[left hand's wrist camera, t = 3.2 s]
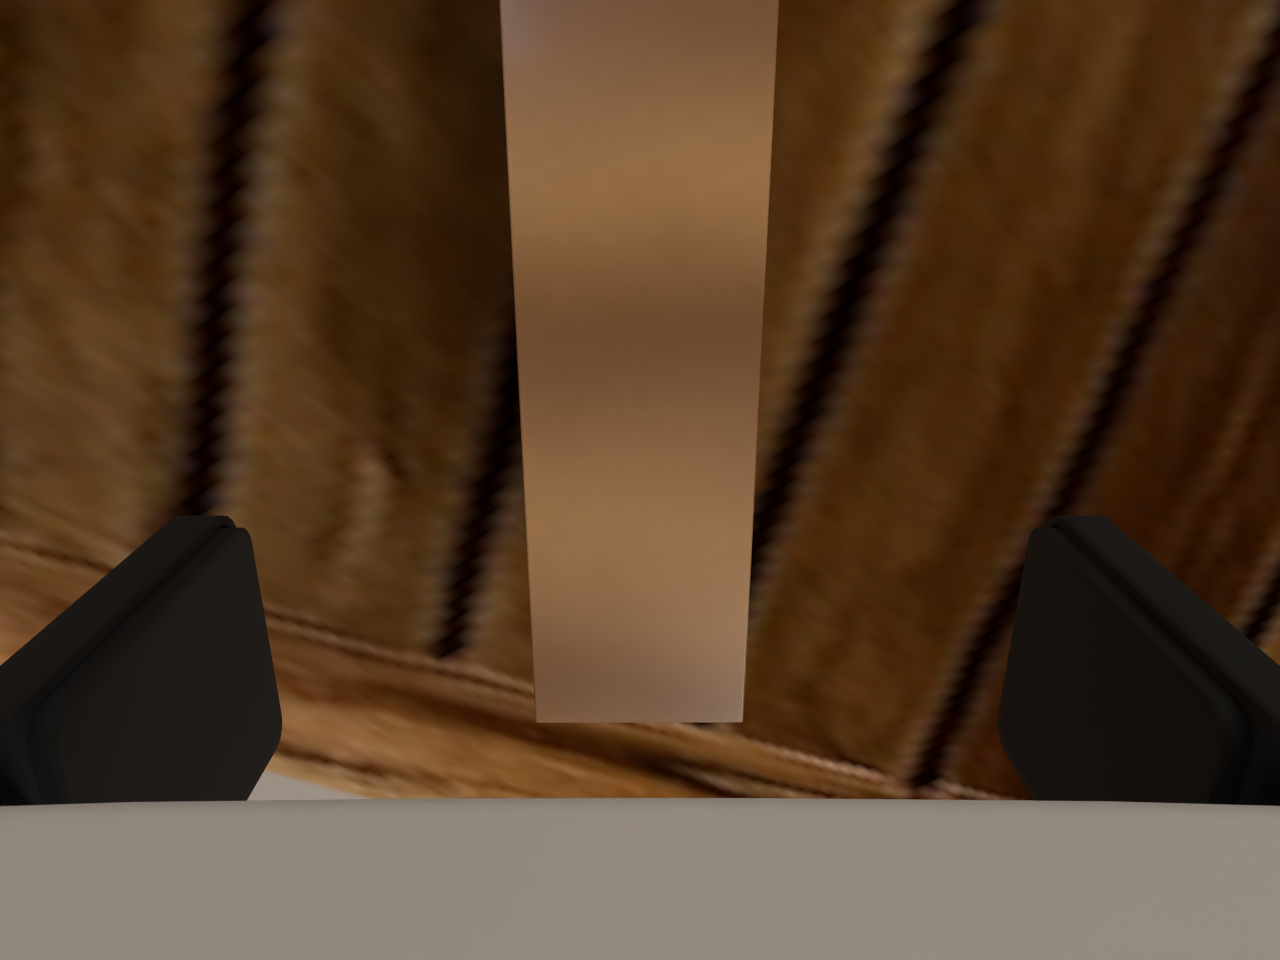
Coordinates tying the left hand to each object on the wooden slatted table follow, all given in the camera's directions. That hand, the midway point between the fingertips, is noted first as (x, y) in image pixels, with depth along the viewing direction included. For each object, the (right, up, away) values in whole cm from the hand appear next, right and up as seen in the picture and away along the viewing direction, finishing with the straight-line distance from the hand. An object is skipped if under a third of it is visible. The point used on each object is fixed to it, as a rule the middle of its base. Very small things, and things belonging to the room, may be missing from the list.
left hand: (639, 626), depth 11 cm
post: (0, +23, +9) cm, 24 cm away
